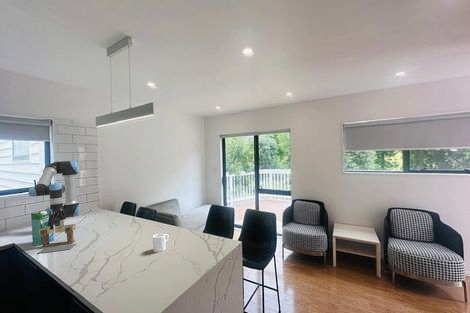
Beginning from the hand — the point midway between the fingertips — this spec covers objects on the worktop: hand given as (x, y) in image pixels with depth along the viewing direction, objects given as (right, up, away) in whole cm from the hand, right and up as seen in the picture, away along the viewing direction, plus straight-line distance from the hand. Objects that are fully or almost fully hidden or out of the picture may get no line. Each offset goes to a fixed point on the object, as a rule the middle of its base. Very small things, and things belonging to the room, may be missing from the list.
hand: (57, 230), depth 164 cm
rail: (0, -1, 0) cm, 1 cm away
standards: (0, -11, 0) cm, 11 cm away
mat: (+7, -11, -8) cm, 15 cm away
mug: (+86, -7, -16) cm, 88 cm away
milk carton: (-17, -12, +6) cm, 21 cm away
